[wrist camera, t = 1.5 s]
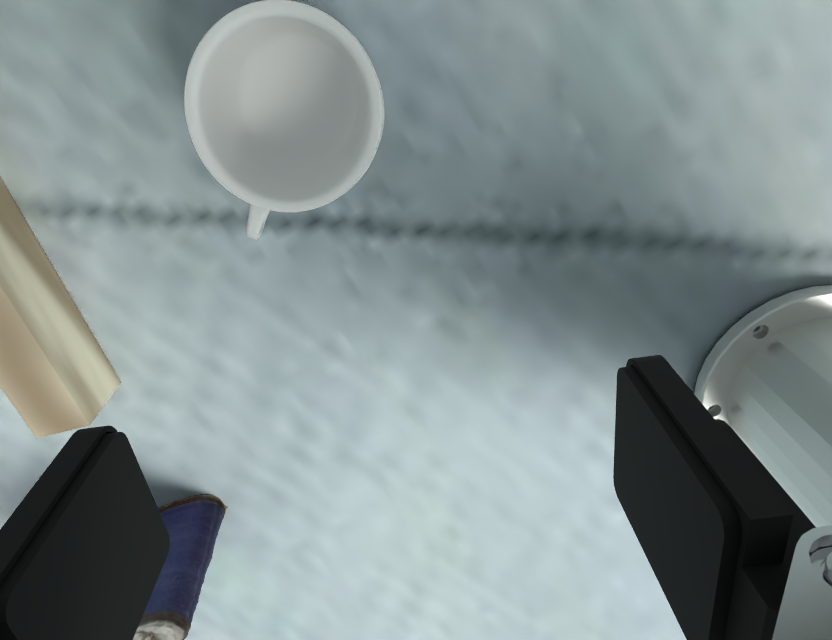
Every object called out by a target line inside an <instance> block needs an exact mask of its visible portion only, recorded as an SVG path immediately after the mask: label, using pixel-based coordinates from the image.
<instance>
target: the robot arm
mask: <svg viewBox="0 0 832 640" xmlns="http://www.w3.org/2000/svg"><path fill="white" fill-rule="evenodd" d="M614 486H615V491H616V494H617V497H618V499H619V501H620V503H621V505H622V507H623V509H624V511H625V513H626V516H627V518H628V520H629V522H630V524H631V526H632V528H633V530H634V532H635V534H636V536H637V538H638V540H639V542H640V544H641V546H642V548H643V551H644V553H645V555H646V557H647V559H648V561H649V563H650V565H651V567H652V569H653V571H654V573H655V575H656V577H657V579H658V581H659V583H660V586H661V588H662V590H663V592H664V594H665V596H666V598H667V600H668V602H669V604H670V606H671V608H672V610H673V612H674V614H675V616H676V618H677V621H678V623H679V625H680V627H681V629H682V631H683V633H684V635H685V637H686V639H687V640H832V285H825V286H813V287H809V288H805V289H801V290H797V291H793V292H789V293H787V294H785V295H782V296H780V297H777V298H775V299H772V300H770V301H768V302H766V303H765V304H763V305H761V306H760V307H758V308H756V309H755V310H753V311H751V312H750V313H748V314H747V315H746V316H744V317H743V318H742V319H741V320H739V321H738V322H737V323H736V324H734V325H733V326H732V327H731V328H730V329H729V330H728V331H727V332H726V333H725V334H724V335H723V337H722V338H721V339H720V340H719V341H718V342H717V343H716V345H715V346H714V348H713V349H712V351H711V352H710V353H709V355H708V356H707V358H706V359H705V362H704V364H703V366H702V368H701V370H700V373H699V375H698V378H697V382H696V386H695V391H694V393H693V392H692V391H691V390H690V389H689V387H688V386H687V385H686V384H685V383H684V381H683V380H682V379H681V378H680V376H679V375H678V374H677V373H676V372H675V370H674V369H673V368H672V367H671V366H670V364H669V363H668V362H667V361H666V360H665V358H664V357H662V356H661V355H655V356H648V357H640V358H632V359H629V360H628V362H627V364H626V367H623V368H619V369H618V373H617V395H616V422H615V450H614ZM169 547H170V538H169V534H168V531H167V529H166V526H165V524H164V522H163V519H162V517H161V515H160V513H159V510H158V508H157V506H156V503H155V501H154V499H153V496H152V494H151V492H150V489H149V487H148V485H147V482H146V480H145V478H144V475H143V473H142V471H141V468H140V466H139V464H138V462H137V459H136V457H135V455H134V452H133V450H132V448H131V445H130V443H129V441H128V438H127V437H126V435H125V434H124V433H122V432H117V430H116V429H115V428H114V427H112V426H102V427H95V428H87V429H80V430H77V431H76V432H75V433H74V434H73V435H72V436H71V438H70V439H69V440H68V442H67V443H66V444H65V446H64V447H63V448H62V450H61V451H60V452H59V453H58V455H57V456H56V457H55V459H54V460H53V461H52V463H51V464H50V465H49V467H48V468H47V469H46V470H45V472H44V473H43V474H42V476H41V477H40V478H39V480H38V481H37V482H36V484H35V485H34V486H33V487H32V489H31V490H30V491H29V493H28V494H27V495H26V497H25V498H24V499H23V501H22V502H21V503H20V505H19V506H18V507H17V508H16V510H15V511H14V512H13V514H12V515H11V516H10V518H9V519H8V520H7V522H6V523H5V524H4V525H3V527H2V528H1V529H0V640H133V638H134V635H135V633H136V631H137V628H138V626H139V623H140V621H141V618H142V616H143V614H144V611H145V609H146V606H147V604H148V601H149V599H150V597H151V594H152V592H153V589H154V587H155V584H156V582H157V580H158V577H159V575H160V572H161V570H162V568H163V565H164V563H165V560H166V558H167V555H168V552H169Z"/></svg>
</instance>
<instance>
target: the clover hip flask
mask: <svg viewBox="0 0 832 640" xmlns="http://www.w3.org/2000/svg"><path fill="white" fill-rule="evenodd" d="M226 508H227V506H225V505H224V504H223V503H222V501H221V500H220V499H219V498H217V497H215V496H213V495H203V494H202V495H200V496H192V497H189V498H186V499H183V500H180V501H175V502H173V503H171V504H167V505H166V506H163V507H160V508H159V509H158V510H159V513H160V515H161V517H162V519H163V522H164V524H165V526H166V529H167V531H168V534H169V538H170V547H169V552H168V555H167V558H166V560H165V563H164V565H163V568H162V570H161V572H160V575H159V577H158V580H157V582H156V584H155V587H154V589H153V592H152V594H151V597H150V599H149V601H148V604H147V606H146V609H145V611H144V614H143V616H142V618H141V621H140V623H139V626H138V628H137V631H136V633H135V635H134V638H133V640H184V639H185V638H186V637H187V635H188V631H189V629H190V627H191V622H192V618H193V613H194V611H195V609H196V605H197V603H198V599H199V595H200V591H201V587H202V584H203V582H204V578H205V574H206V571H207V568H208V566H209V563H210V561H211V559H212V554H213V549H214V545H215V540H216V537H217V535H218V531H219V528H220V525H221V523H222V520H223V518H224V514H225V510H226Z"/></svg>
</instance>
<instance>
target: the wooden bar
mask: <svg viewBox="0 0 832 640" xmlns="http://www.w3.org/2000/svg"><path fill="white" fill-rule="evenodd" d="M120 383H121V382H120V380H119V378H118V377H117V375H116V373H115V372H114V370H113V368H112V366H111V365H110V363H109V361H108V360H107V358H106V356H105V355H104V353H103V351H102V349H101V348H100V346H99V344H98V343H97V341H96V339H95V338H94V336H93V334H92V332H91V331H90V329H89V327H88V326H87V324H86V322H85V321H84V319H83V317H82V315H81V314H80V312H79V310H78V309H77V307H76V305H75V304H74V302H73V300H72V298H71V297H70V295H69V293H68V292H67V290H66V288H65V286H64V285H63V283H62V281H61V280H60V278H59V276H58V275H57V273H56V271H55V269H54V268H53V266H52V264H51V263H50V261H49V259H48V258H47V256H46V254H45V252H44V251H43V249H42V247H41V246H40V244H39V242H38V241H37V239H36V237H35V235H34V234H33V232H32V230H31V229H30V227H29V225H28V223H27V222H26V220H25V218H24V217H23V215H22V213H21V212H20V210H19V208H18V206H17V205H16V203H15V201H14V200H13V198H12V196H11V195H10V193H9V191H8V189H7V188H6V186H5V184H4V183H3V181H2V179H1V178H0V388H1V389H2V390H3V392H4V393H5V395H6V396H7V397H8V399H9V400H10V402H11V403H12V405H13V406H14V407H15V409H16V410H17V412H18V413H19V415H20V416H21V417H22V419H23V420H24V422H25V423H26V425H27V426H28V427H29V429H30V430H31V432H32V433H33V434H34V436H35V437H36V439H37V438H41V437H45V436H49V435H52V434H56V433H60V432H64V431H68V430H72V429H76V428H80V427H84V426H88V425H90V424H91V423H92V421H93V420H94V419H95V417H96V416H97V415H98V413H99V412H100V411H101V409H102V408H103V407H104V405H105V404H106V402H107V401H108V400H109V398H110V397H111V396H112V394H113V393H114V392H115V390H116V389H117V388H118V386H119V385H120Z"/></svg>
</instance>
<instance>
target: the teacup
mask: <svg viewBox="0 0 832 640" xmlns="http://www.w3.org/2000/svg"><path fill="white" fill-rule="evenodd" d="M184 110H185V118H186V123H187V127H188V131H189V134H190V137H191V140H192V143H193V145H194V147H195V149H196V152H197V153H198V155H199V157H200V159H201V161H202V162H203V164H204V165H205V167H206V168H207V169H208V171H209V172H210V173H211V174H212V176H213V177H214V178H215V179H216V180H217V181H218V182H219V183H220V184H221V185H222V186H223V187H224V188H226V189H227V190H228V191H229V192H231V193H232V194H233V195H235V196H236V197H238V198H240V199H241V200H243V201H245V202H247V203H249V204H250V207H249V216H248V222H247V227H246V235H247V236H248V237H250V238H252V239H258V238H259V237H260V235H261V233H262V231H263V228H264V225H265V222H266V219H267V217H268V214H269V212H270V211H276V212H302V211H308V210H312V209H316V208H319V207H321V206H324V205H326V204H328V203H330V202H332V201H334V200H336V199H337V198H339V197H340V196H342V195H343V194H344V193H346V192H347V191H348V190H350V189H351V188H352V187H353V186H354V185H355V184H356V183H357V182H358V181H359V180H360V179H361V178H362V176H363V175H364V174H365V172H366V171H367V170H368V168H369V166H370V165H371V163H372V161H373V159H374V157H375V154H376V152H377V149H378V146H379V143H380V140H381V136H382V132H383V127H384V99H383V93H382V89H381V85H380V82H379V79H378V76H377V74H376V71H375V69H374V67H373V64H372V62H371V60H370V58H369V56H368V55H367V53H366V51H365V50H364V48H363V46H362V45H361V44H360V42H359V41H358V40H357V39H356V38H355V36H354V35H353V34H352V33H351V32H350V31H349V30H348V29H346V28H345V27H344V26H343V25H342V24H340V23H339V22H338V21H337V20H335V19H334V18H333V17H331V16H330V15H328V14H326V13H325V12H323V11H321V10H319V9H317V8H315V7H312V6H310V5H307V4H304V3H300V2H296V1H291V0H262V1H257V2H253V3H249V4H246V5H244V6H241V7H239V8H237V9H235V10H233V11H231V12H229V13H228V14H226V15H225V16H224V17H222V18H221V19H220V20H218V21H217V22H216V23H215V24H214V25H213V26H212V27H211V28H210V29H209V30H208V31H207V32H206V34H205V35H204V36H203V38H202V39H201V41H200V42H199V44H198V46H197V47H196V49H195V51H194V53H193V56H192V58H191V61H190V64H189V67H188V70H187V75H186V80H185V88H184Z"/></svg>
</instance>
